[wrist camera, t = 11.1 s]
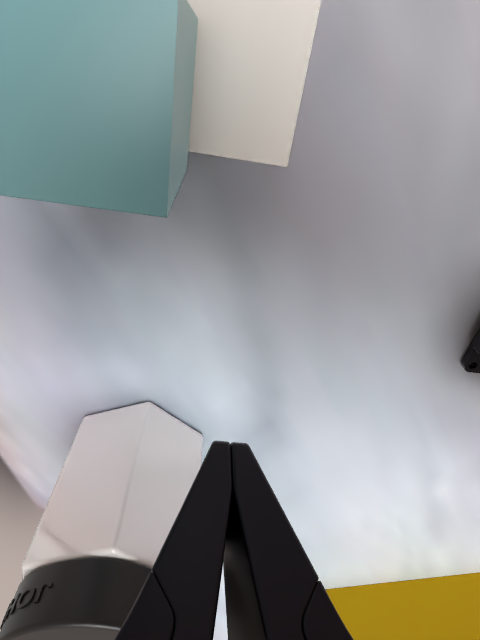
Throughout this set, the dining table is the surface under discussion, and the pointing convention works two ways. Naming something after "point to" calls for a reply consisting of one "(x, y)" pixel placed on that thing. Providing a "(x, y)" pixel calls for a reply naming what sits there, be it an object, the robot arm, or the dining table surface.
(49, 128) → the teal block
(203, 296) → the dining table surface
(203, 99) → the board
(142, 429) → the jar
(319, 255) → the dining table surface
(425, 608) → the yellow pink arched block
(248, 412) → the dining table surface
